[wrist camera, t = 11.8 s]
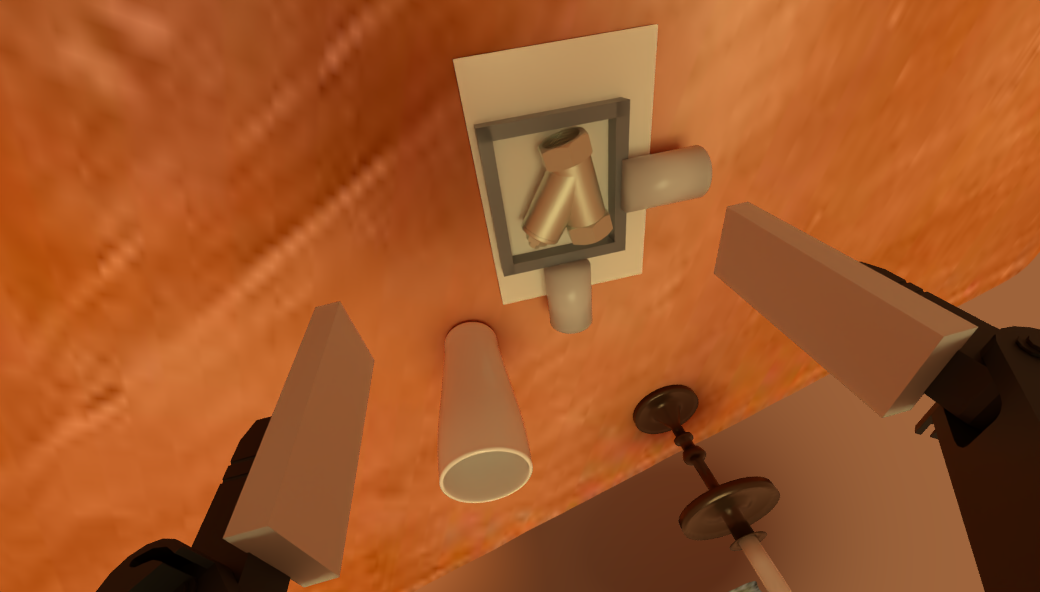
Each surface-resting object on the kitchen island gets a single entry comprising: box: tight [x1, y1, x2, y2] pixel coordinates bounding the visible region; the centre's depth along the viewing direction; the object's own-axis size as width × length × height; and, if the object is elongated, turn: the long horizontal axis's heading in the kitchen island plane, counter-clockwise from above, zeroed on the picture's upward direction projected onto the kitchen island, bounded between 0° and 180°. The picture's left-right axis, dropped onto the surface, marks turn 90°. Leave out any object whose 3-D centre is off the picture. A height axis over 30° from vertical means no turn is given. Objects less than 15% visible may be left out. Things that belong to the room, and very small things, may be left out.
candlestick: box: [633, 385, 792, 592], centre depth 37 cm, size 11×11×35 cm
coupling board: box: [453, 24, 712, 333], centre depth 30 cm, size 22×17×5 cm
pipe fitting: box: [521, 127, 613, 249], centre depth 28 cm, size 8×4×7 cm
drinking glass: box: [438, 322, 533, 503], centre depth 32 cm, size 7×7×15 cm
